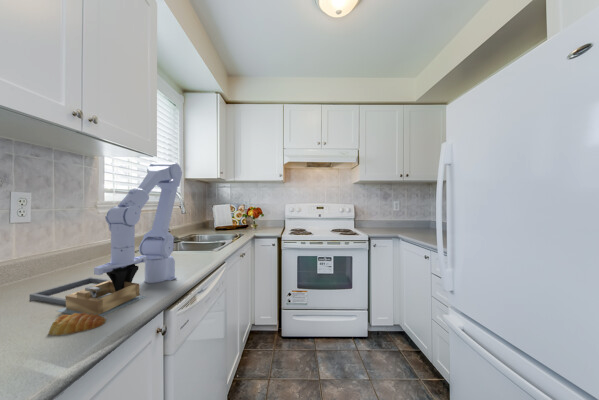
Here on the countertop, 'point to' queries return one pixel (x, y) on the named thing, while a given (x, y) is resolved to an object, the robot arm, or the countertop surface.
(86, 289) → the stake post
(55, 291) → the tray
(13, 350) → the countertop surface
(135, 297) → the stake base
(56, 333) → the pastry
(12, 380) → the countertop surface
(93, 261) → the countertop surface
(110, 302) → the wooden frame
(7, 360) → the countertop surface
